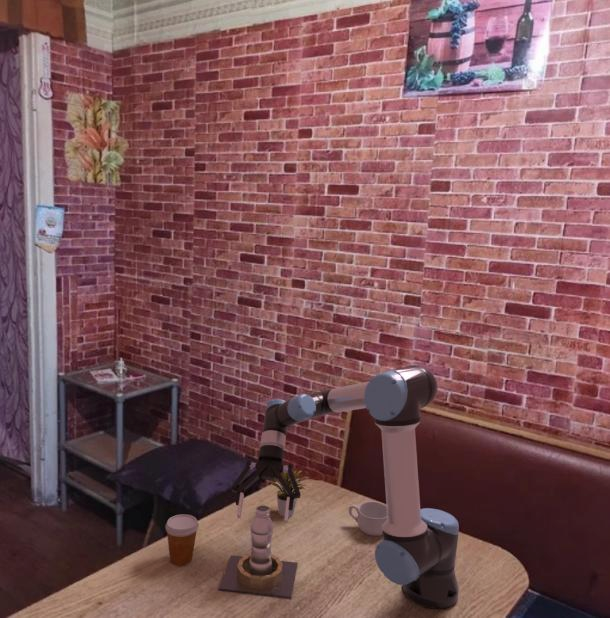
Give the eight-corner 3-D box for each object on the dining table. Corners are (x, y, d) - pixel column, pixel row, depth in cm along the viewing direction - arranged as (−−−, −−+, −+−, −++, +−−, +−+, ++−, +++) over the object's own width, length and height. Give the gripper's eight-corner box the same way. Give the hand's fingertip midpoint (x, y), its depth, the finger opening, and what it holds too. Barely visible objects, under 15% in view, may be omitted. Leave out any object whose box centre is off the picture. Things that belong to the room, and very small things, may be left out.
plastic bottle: (268, 583, 164) (271, 515, 161) (245, 579, 166) (248, 512, 163) (274, 570, 171) (277, 505, 168) (251, 566, 172) (254, 501, 169)
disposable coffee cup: (185, 547, 181) (186, 510, 179) (204, 561, 174) (205, 523, 172) (158, 558, 174) (159, 520, 172) (175, 573, 168) (177, 534, 166)
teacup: (394, 530, 198) (396, 507, 197) (380, 544, 189) (382, 520, 188) (357, 516, 205) (358, 495, 204) (341, 529, 196) (343, 507, 195)
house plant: (294, 530, 194) (297, 483, 192) (258, 518, 200) (260, 473, 197) (313, 511, 207) (315, 467, 204) (277, 501, 213) (280, 458, 210)
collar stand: (297, 564, 175) (298, 553, 175) (291, 598, 160) (292, 586, 159) (231, 557, 177) (231, 546, 176) (218, 590, 161) (218, 578, 161)
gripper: (312, 456, 183) (306, 527, 171) (233, 449, 185) (220, 518, 173) (312, 447, 177) (305, 519, 165) (230, 440, 179) (217, 510, 167)
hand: (262, 519), depth 169 cm, fingers open, 13 cm apart
